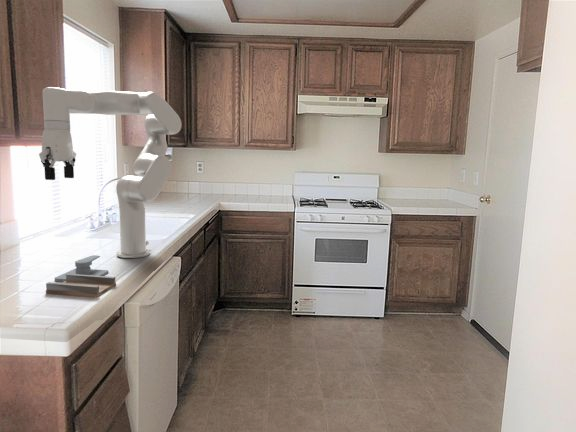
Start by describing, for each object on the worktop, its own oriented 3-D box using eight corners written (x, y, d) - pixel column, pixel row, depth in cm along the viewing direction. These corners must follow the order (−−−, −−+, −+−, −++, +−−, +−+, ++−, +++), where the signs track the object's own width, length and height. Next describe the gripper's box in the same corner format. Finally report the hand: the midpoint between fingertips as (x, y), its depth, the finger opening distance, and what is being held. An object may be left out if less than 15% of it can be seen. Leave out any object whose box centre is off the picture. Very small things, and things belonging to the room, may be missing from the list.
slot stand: (69, 282, 138) (68, 273, 138) (116, 285, 136) (115, 276, 136) (45, 293, 127) (45, 283, 127) (96, 297, 126) (96, 287, 125)
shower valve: (113, 255, 151) (88, 267, 137) (113, 270, 152) (89, 283, 138) (79, 253, 153) (52, 264, 138) (80, 268, 154) (53, 281, 139)
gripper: (63, 127, 150) (66, 176, 153) (28, 124, 134) (31, 180, 136) (83, 128, 150) (85, 177, 152) (50, 125, 133) (53, 181, 135)
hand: (60, 178), depth 144 cm, fingers open, 9 cm apart
